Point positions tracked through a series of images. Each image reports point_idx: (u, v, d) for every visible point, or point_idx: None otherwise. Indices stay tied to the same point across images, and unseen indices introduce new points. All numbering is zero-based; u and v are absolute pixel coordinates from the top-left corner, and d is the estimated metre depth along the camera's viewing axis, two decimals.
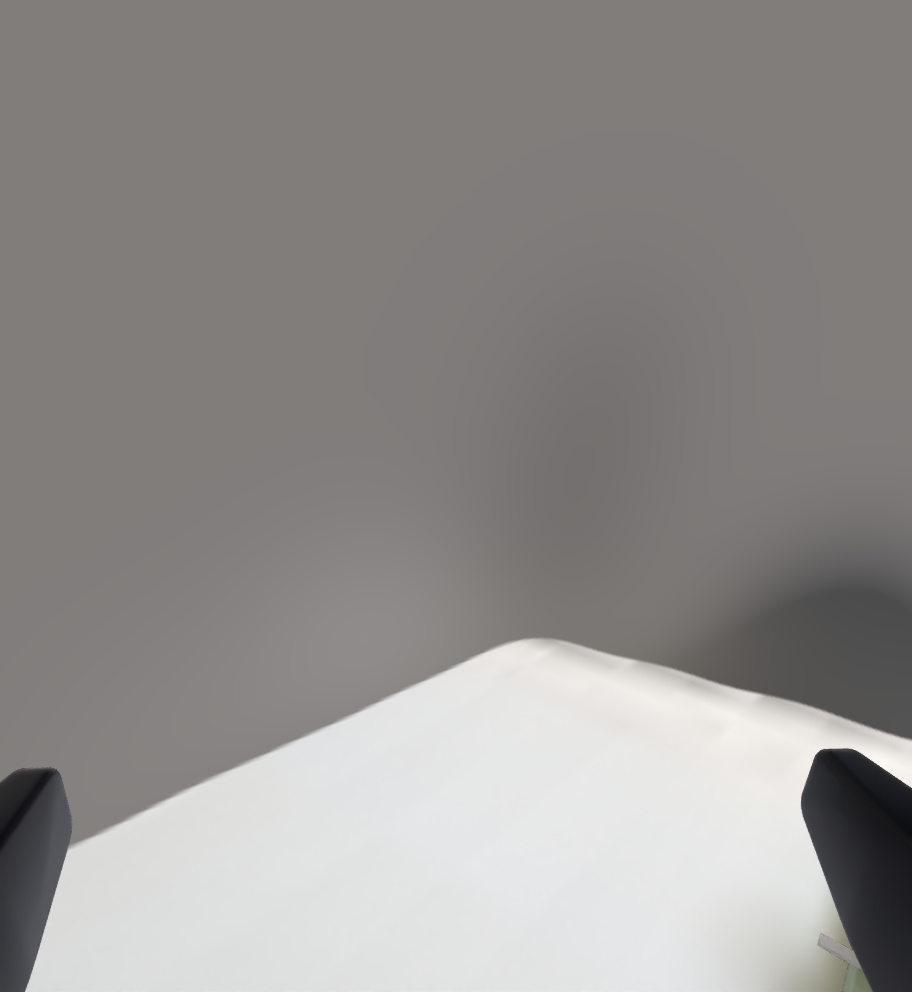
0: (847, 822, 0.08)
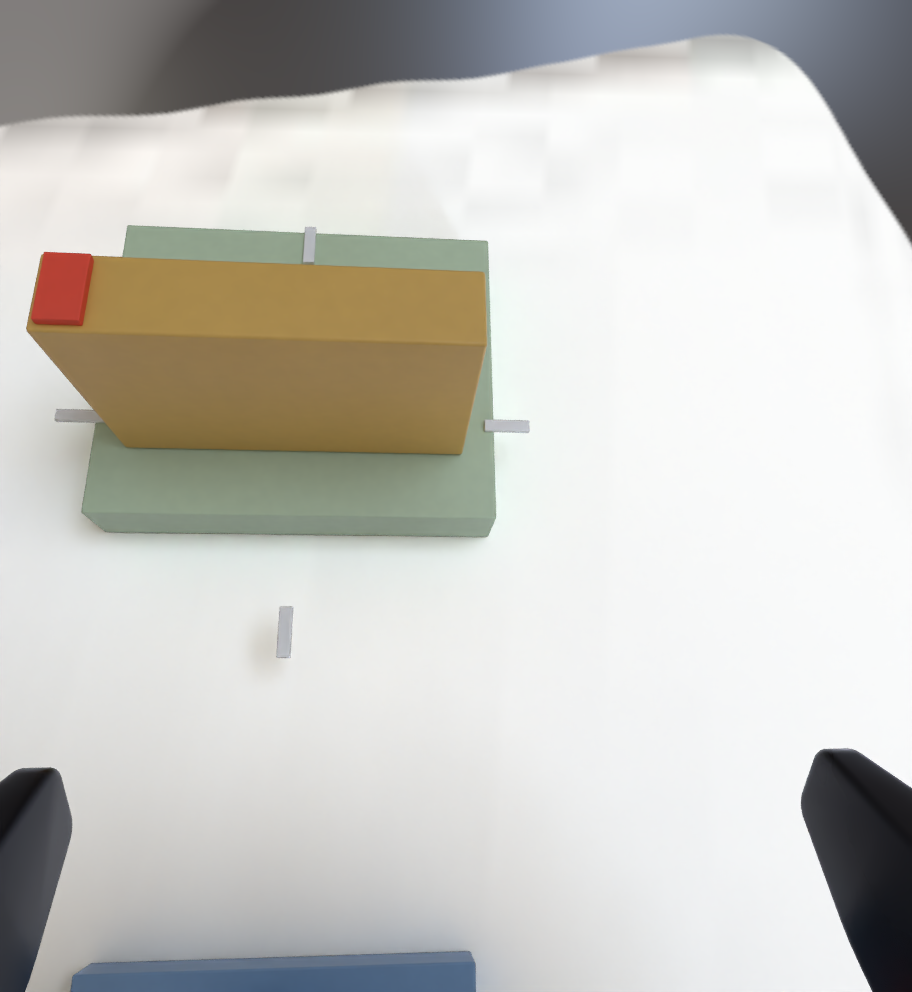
0: (847, 822, 0.08)
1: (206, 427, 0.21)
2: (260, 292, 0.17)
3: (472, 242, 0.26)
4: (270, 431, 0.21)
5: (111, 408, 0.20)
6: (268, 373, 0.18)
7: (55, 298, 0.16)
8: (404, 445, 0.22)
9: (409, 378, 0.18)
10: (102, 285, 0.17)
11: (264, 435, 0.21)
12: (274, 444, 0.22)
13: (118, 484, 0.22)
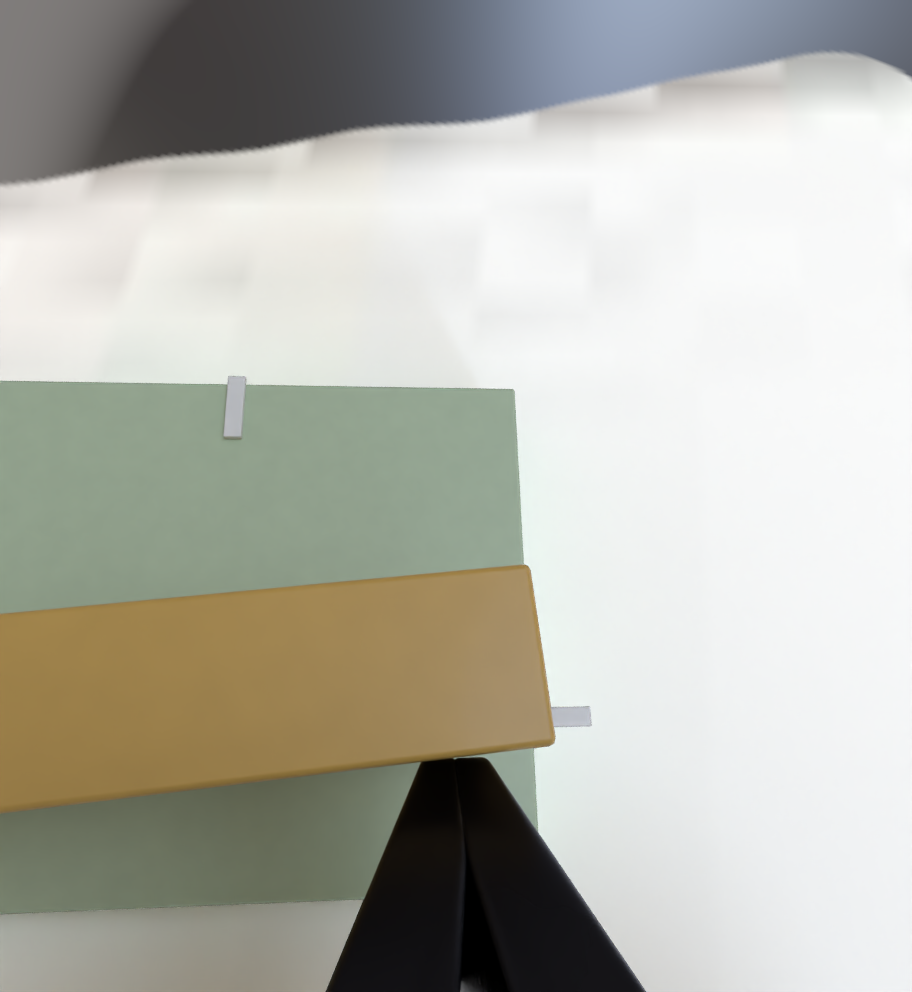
0: None
1: None
2: (59, 686, 0.08)
3: (490, 393, 0.17)
4: None
5: None
6: None
7: None
8: None
9: None
10: None
11: None
12: None
13: None
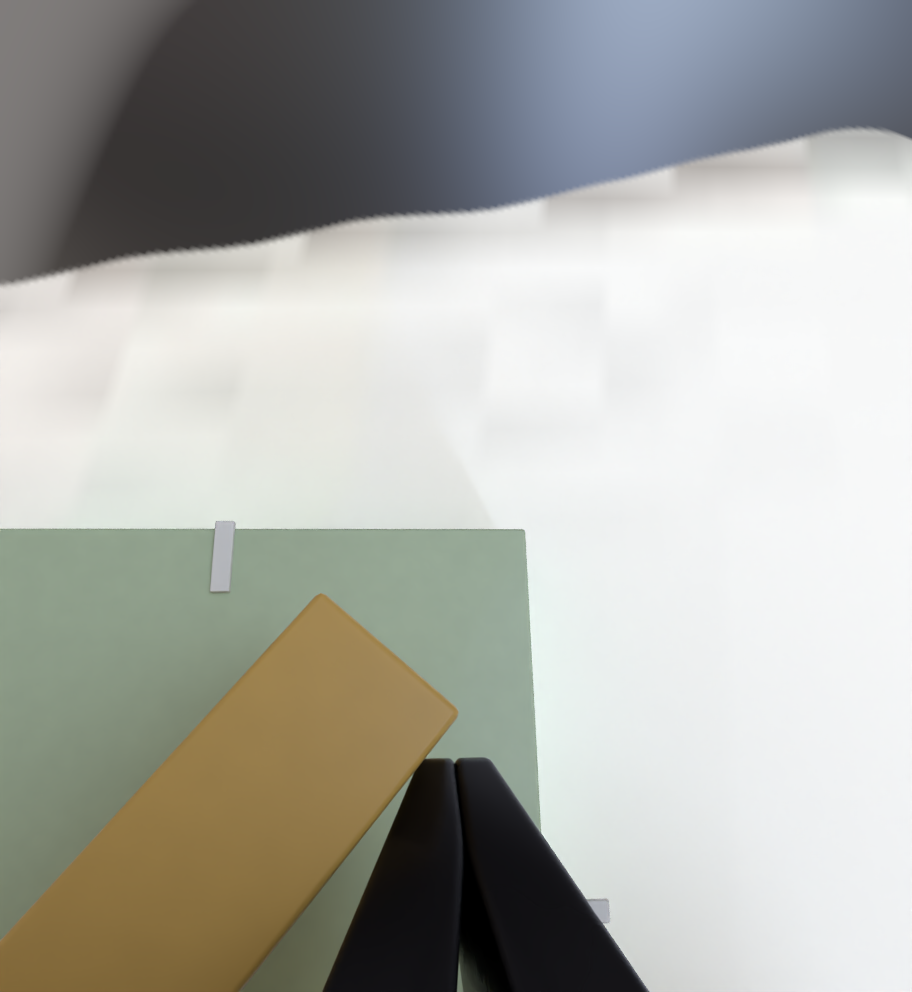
0: None
1: None
2: None
3: (499, 534, 0.15)
4: None
5: None
6: None
7: None
8: None
9: None
10: None
11: None
12: None
13: None
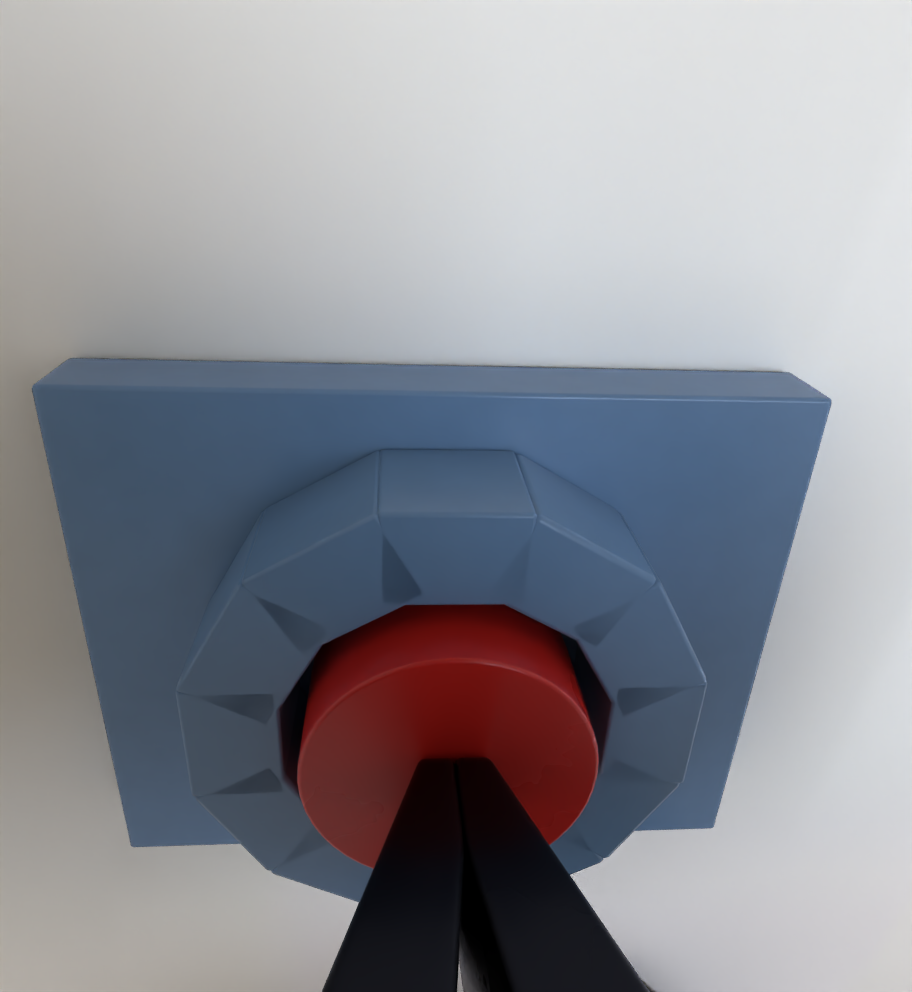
0: None
1: None
2: None
3: None
4: None
5: None
6: None
7: None
8: None
9: None
10: None
11: None
12: None
13: None
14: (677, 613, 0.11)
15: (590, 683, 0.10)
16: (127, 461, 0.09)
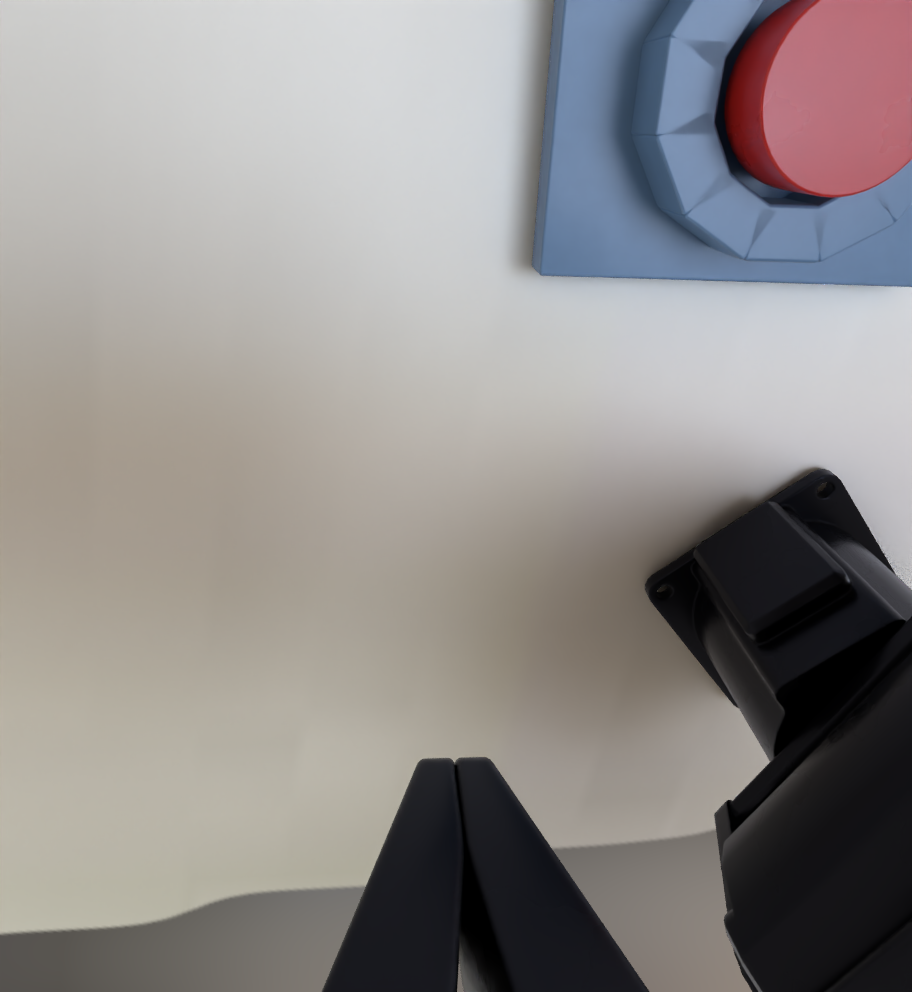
0: None
1: None
2: None
3: None
4: None
5: None
6: None
7: None
8: None
9: None
10: None
11: None
12: None
13: None
14: None
15: None
16: None
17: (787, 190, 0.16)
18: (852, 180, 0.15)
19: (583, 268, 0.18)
